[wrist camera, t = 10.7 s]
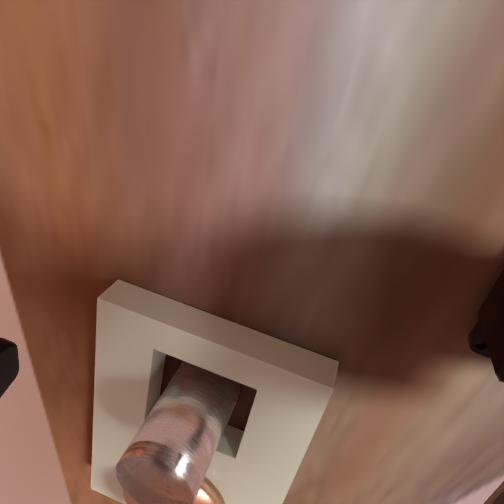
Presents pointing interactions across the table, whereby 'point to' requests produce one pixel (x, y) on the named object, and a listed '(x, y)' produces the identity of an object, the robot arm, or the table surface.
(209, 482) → the copper flanged knob
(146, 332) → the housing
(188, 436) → the loose cylinder
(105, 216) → the table surface
